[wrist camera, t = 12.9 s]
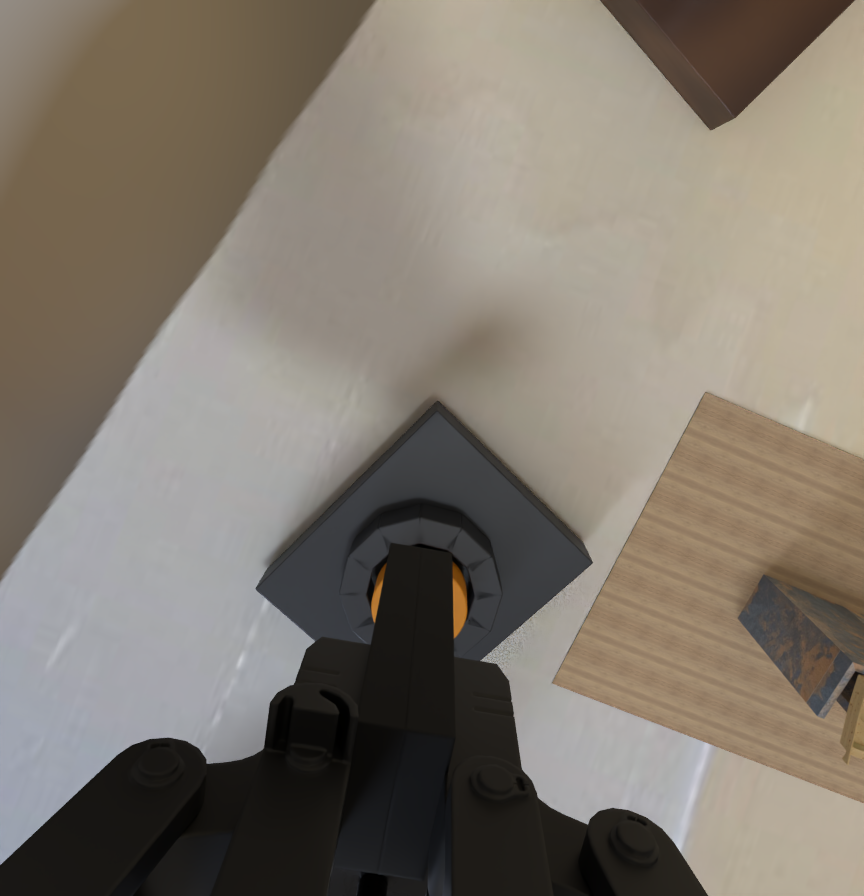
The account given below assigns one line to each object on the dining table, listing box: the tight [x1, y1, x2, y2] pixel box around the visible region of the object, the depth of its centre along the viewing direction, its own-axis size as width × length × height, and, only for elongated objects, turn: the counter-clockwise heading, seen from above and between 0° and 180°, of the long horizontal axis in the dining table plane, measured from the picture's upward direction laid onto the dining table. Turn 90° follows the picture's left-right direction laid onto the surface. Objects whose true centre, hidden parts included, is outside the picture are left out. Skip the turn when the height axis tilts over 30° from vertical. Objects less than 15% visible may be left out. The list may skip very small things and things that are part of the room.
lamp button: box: [371, 562, 467, 638], centre depth 29 cm, size 4×4×2 cm
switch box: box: [256, 401, 593, 661], centre depth 32 cm, size 10×12×4 cm
